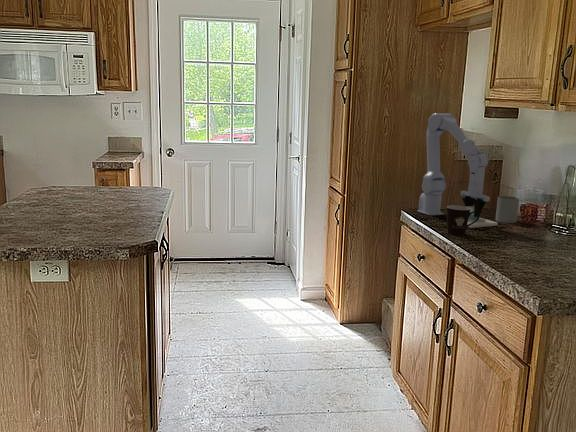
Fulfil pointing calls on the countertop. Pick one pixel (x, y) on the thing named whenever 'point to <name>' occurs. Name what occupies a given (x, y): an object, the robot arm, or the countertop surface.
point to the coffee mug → (458, 219)
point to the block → (472, 213)
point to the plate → (481, 223)
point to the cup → (507, 209)
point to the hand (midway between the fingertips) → (472, 215)
